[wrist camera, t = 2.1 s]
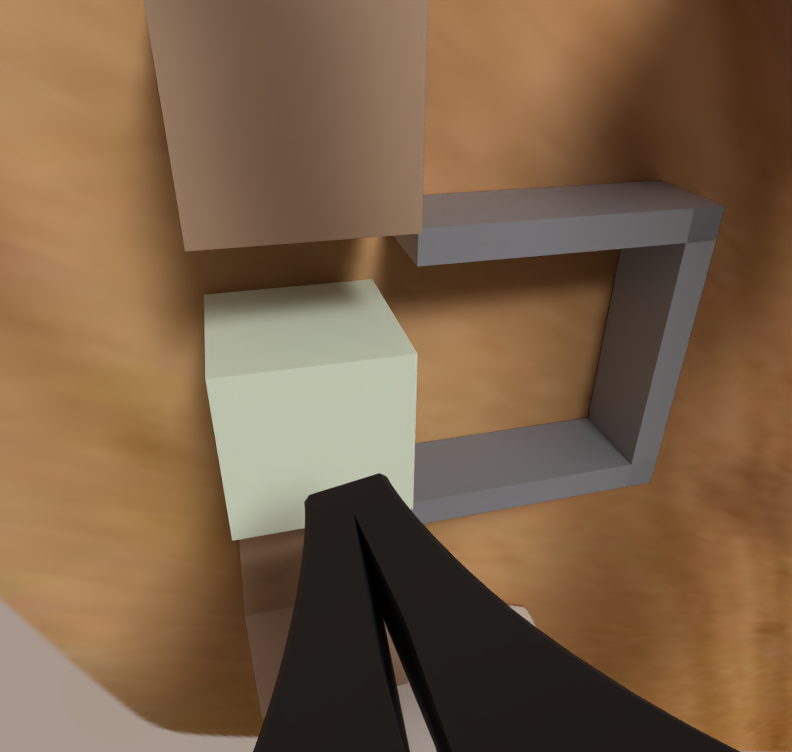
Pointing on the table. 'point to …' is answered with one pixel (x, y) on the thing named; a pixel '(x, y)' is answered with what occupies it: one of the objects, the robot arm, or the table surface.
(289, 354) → the sage block
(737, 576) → the table surface
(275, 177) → the walnut block
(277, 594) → the walnut block
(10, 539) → the table surface
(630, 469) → the corral
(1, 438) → the table surface
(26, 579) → the table surface
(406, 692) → the white handled block
